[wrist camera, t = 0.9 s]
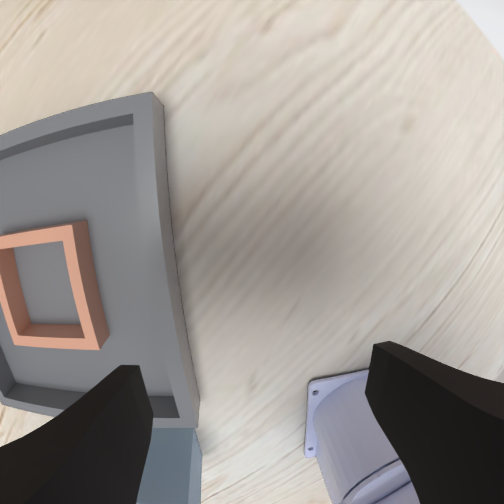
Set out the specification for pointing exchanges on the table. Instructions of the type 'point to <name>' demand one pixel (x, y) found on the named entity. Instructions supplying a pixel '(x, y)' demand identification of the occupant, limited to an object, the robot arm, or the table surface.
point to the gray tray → (91, 261)
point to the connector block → (172, 468)
